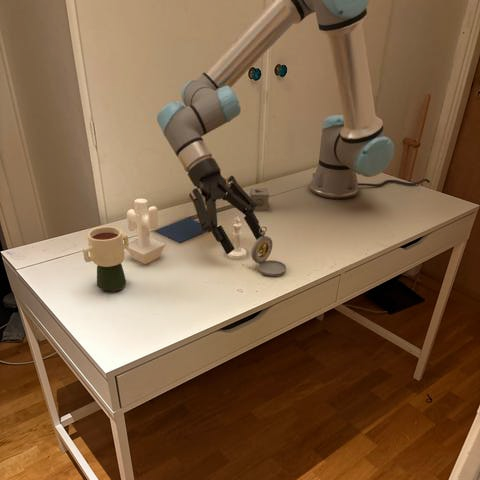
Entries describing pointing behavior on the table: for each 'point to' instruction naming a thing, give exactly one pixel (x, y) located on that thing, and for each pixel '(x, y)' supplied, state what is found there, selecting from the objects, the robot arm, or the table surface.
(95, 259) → the character mug
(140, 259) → the figurine
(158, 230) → the cloth mat
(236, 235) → the chess piece
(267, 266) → the pocket watch
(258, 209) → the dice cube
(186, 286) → the table surface
